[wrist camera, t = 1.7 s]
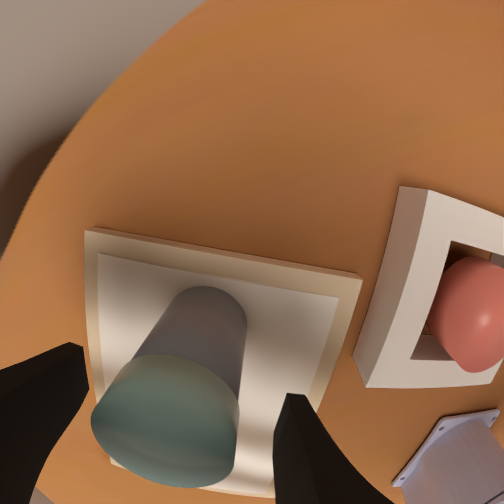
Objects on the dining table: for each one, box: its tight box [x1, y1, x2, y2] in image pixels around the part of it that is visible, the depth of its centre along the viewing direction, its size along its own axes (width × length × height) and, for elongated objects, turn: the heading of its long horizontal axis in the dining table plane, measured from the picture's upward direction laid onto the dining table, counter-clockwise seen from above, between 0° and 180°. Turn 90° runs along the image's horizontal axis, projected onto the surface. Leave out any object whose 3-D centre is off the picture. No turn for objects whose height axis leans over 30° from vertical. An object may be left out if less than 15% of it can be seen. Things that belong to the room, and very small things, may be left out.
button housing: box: [352, 186, 504, 388], centre depth 13 cm, size 10×10×3 cm
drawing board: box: [84, 227, 363, 498], centre depth 17 cm, size 20×14×1 cm
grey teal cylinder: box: [91, 286, 247, 488], centre depth 11 cm, size 4×4×8 cm
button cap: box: [427, 256, 504, 373], centre depth 11 cm, size 5×5×3 cm
